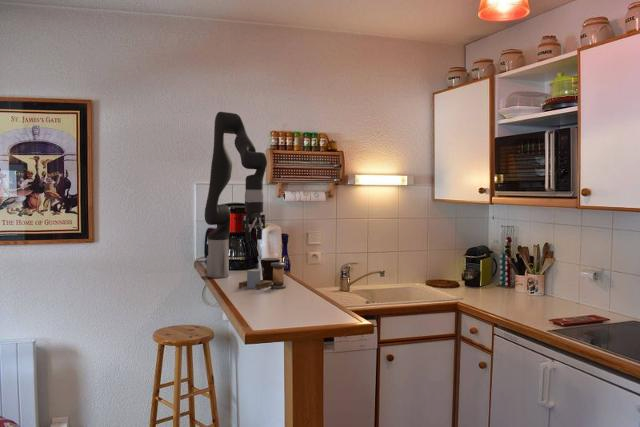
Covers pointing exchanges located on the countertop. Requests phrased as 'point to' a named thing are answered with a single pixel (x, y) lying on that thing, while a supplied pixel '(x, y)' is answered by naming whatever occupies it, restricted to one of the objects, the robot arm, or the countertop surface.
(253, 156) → the robot arm
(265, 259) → the coffee mug
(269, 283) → the u-shaped bracket
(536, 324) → the countertop surface
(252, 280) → the grey rectangular block
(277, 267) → the bobbin
